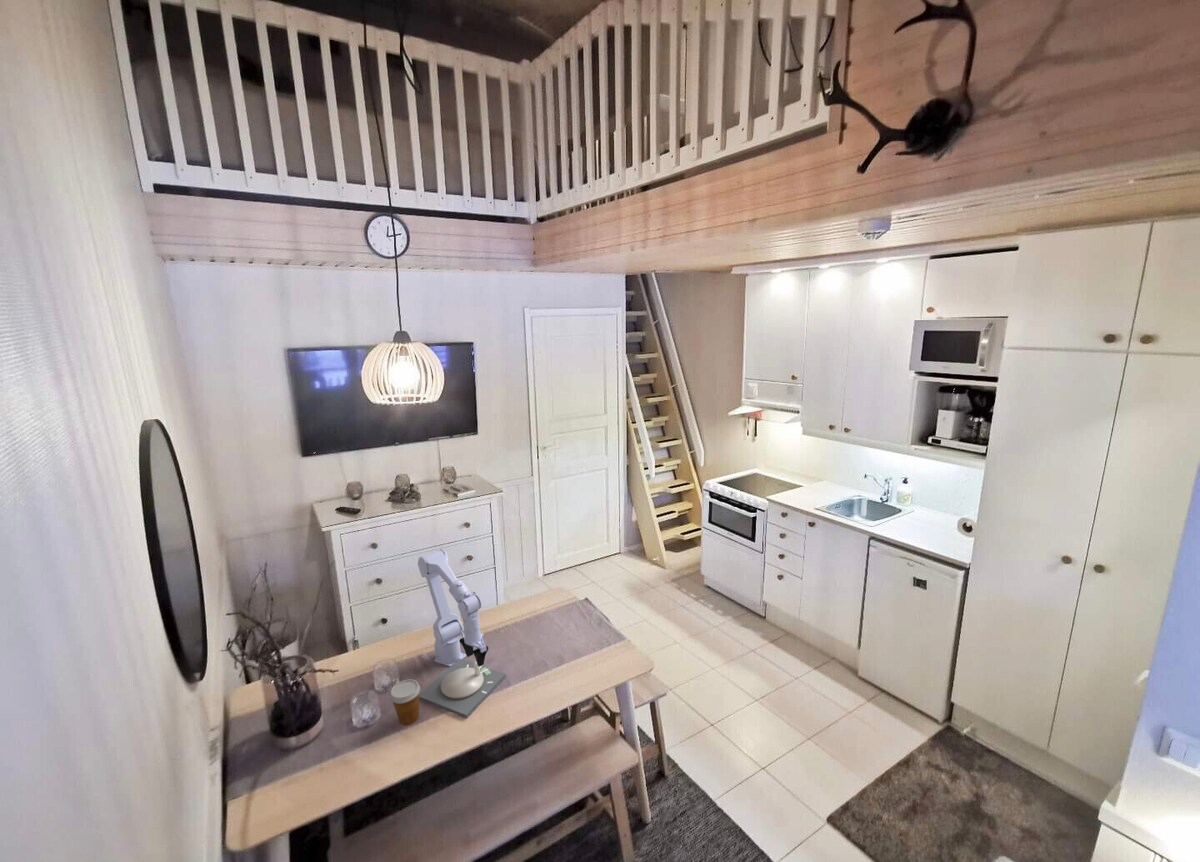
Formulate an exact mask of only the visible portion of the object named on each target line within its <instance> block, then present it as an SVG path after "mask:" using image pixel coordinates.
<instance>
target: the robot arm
mask: <svg viewBox="0 0 1200 862" xmlns="http://www.w3.org/2000/svg"><path fill="white" fill-rule="evenodd" d="M449 560H450V559H449V555H448V553H447V552H446V551H445V550H444V549H443V548H440V549H438V550H436V551H433V552H430V553H428V554H426V555H423V556H419V557H418V560H417V567H418V570H419V573H420V575H421V578H425V579H426V583H427V585H428V586H427V587H428V589H429V593H430V596H431V599H432V602H433V605H434V609H435V612H436V615H437V618H436V619H435V621H434V623H433V624H432V630H433V637H434V639H435V640H434V643H433V644H434V645H433V646H434V653H435V654H434V655H435V659H434V662H436V663H439V664H442V665H445V666H447V667H450V666H452V665H453V664H454V663H455V662H456V661H457V660H458V659H459V658H460V659H463V660H464V658H466V657H467V658H469V657H471V656H474V658H475V661H476V662H477V665H478V666H479V667H480V666H483V665H484V664H485V659H486V655H487V653H488V651H489V646H488V645H486V644H485V642H484V639H483V637H484V636H485V635H484V633H483V632H481V624H480V622H481V621H480V613H479V609H481V608H482V601H481V599H480V597H479V595H478V594H477V593H474V592H473V591H471V590H470V589H469V588H468V587H467V585H466V584H465V583H464V581H462V580H459V579H458V578H457V577H456V575H455V574H454V572H453V570H452V568H451V567H450V563H449V562H450V561H449ZM441 579H443V581H444V582H445V584H446V585H448V591H449V593H450V595H451V596H452V597H453V599H454V600H455V601H456V603H457V604H458V605H457V608H458V611H459V614H460V617H459V615H458V614H455V613H452V612H451V609H450V606H449V603H448V600H447V596H446V592H445V589H444V586H443V583H442V580H441ZM460 618H461V619H462V621H461V619H460ZM461 646H462V648H463V649H464V652H465V653H463V652H462V651H461ZM474 648H475V649H474Z"/></svg>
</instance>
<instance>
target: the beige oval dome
mask: <svg viewBox="0 0 1200 862" xmlns="http://www.w3.org/2000/svg"><path fill="white" fill-rule="evenodd" d="M473 663H474V668H461V669H457V670H455V671H453V672H451V673H449V674H448V675H447V676H446V677H445V678H444V679H443V680H442V682H441V691H442V693H443V695H445V696H446V697H448V698H451V699H461V698H466V697H468V696H471V695H473V694H474V693H476V692H477V691H478V690H479V689H480V688H481V687H482V685H483V682H484V678H483V674H482V673H483V672H485V671H487V670H489V669H486V670H484V671H482V672H481V671H480V667H479V666H478V665H477V662H476V660H475V661H474V662H473Z"/></svg>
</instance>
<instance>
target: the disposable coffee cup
mask: <svg viewBox="0 0 1200 862" xmlns="http://www.w3.org/2000/svg"><path fill="white" fill-rule="evenodd" d="M420 691H421V686H420V684H419V683H418V681H417V680H415V679H412V678H411V679H409V678H408V679H403V680H401V681H399V682H397V683H396V684H394V685H393V687H392V688H391V690H390V694H389V698H390V700H391V701H392V703H393V706H394V710H395V712H396V715H397V719H398V722H399V724H400V725H401V726H404V727H405V726H406V727H407V726H411V725H413V724H415V723H416V722H417V721H418V720H419V717H420V700H419V694H420Z"/></svg>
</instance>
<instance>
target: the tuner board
mask: <svg viewBox="0 0 1200 862" xmlns="http://www.w3.org/2000/svg"><path fill="white" fill-rule="evenodd" d="M461 668H474V662H471V661H468V660H465V659H464V658H463V659H460V658H459V659H458V660H457V661H456V662H455V663H454V664H453V665H452V666H448V668H446V670H445V671H443V673H441V674H440V675H439V676H437V678H436V679H434V680H433V682H431V683H430V684H428V686H427V687H426V688H424V689H423V690H422V691H421V692H419V701H422V702H424V703H427V704H429V705H431V706H434V707H436V708H439V709H440V710H444V711H446V712H449V713H451V714H453V715H456V714H457V715H456V716H458V717H461V716H462V717H461V718H464V719H467V720H468V718H469V717H470V716H471V715H472V713H474V712H475V711H476V710H477V708H478V707H480V705H481V704H482V703H484V701H485V700H486V699H487V698H488V697H489V696H490V695H491V694H492V693H493V692H494V691H495V689H497V688H498V687H499V685H500V684H501V683H503V681H505V679H506V678H507V674H506V673H504V672H501V671H498V670H495V669H493V668H489V667H486V666H483V665H481V666H480V671H481V672H482V671H484V670H486V669H489V670H487V671H485V672H483V673H482V674H483V678H484V682H483V685H482V687H481V688H480V689H479V690H478V691H477V692H476V693H474V694H473V695H471V696H468V697H466V698H461V699H451V698H448V697H446V696H445V695H443V693H442V691H441V682H442V680H443V679H444V678H445V677H446V676H447V675H448V674H449V673H451V672H453V671H455V670H457V669H461Z"/></svg>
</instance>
